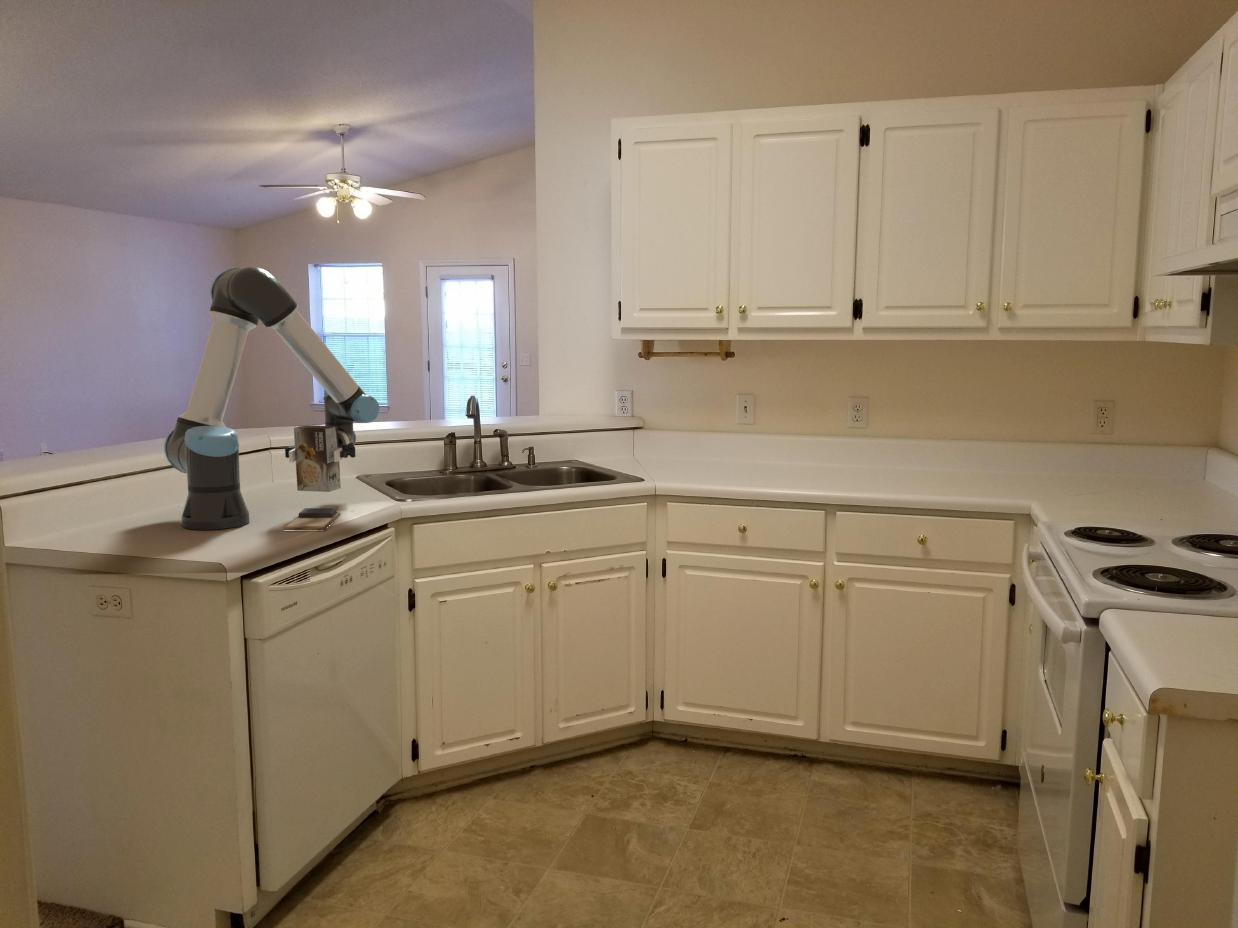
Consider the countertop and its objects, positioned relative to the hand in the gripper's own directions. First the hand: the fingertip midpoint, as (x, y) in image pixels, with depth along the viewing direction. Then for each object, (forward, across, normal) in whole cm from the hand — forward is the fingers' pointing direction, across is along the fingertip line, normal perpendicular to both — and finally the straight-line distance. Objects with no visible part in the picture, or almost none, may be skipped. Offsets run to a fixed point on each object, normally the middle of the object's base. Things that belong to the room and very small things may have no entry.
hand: (313, 456), depth 221 cm
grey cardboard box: (-4, 0, -9) cm, 10 cm away
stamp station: (+1, 0, -16) cm, 16 cm away
